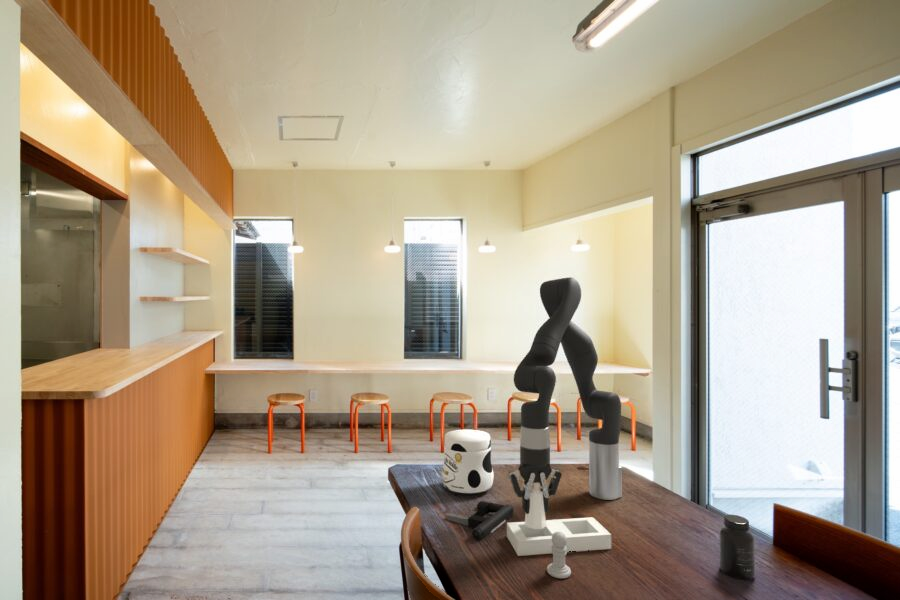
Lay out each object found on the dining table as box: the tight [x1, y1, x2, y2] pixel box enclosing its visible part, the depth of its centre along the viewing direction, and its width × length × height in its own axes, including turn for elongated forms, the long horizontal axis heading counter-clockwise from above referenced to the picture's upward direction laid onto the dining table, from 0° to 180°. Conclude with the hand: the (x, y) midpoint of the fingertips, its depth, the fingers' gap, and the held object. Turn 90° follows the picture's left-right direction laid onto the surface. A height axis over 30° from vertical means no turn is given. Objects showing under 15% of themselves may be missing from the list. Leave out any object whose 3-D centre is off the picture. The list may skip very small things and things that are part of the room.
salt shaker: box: [524, 482, 547, 529], centre depth 117 cm, size 5×5×11 cm
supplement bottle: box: [718, 514, 756, 581], centre depth 105 cm, size 7×7×12 cm
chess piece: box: [546, 532, 572, 580], centre depth 104 cm, size 5×5×9 cm
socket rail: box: [506, 516, 612, 557], centre depth 118 cm, size 24×10×4 cm, turn 99°
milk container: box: [441, 428, 495, 496], centre depth 154 cm, size 17×17×18 cm
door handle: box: [445, 500, 514, 541], centre depth 130 cm, size 3×20×16 cm
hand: (535, 511), depth 117 cm, fingers closed on salt shaker, 3 cm apart
